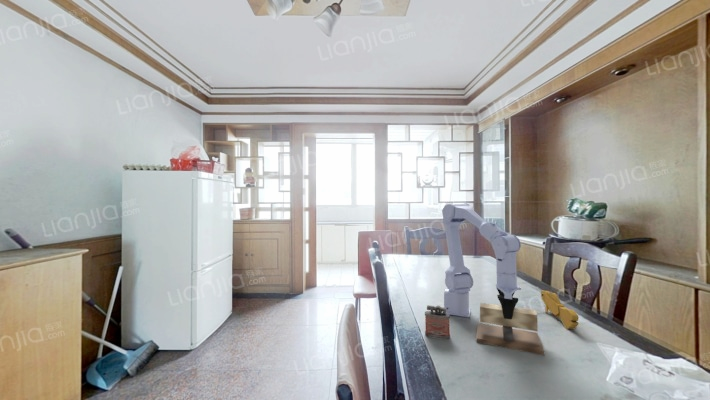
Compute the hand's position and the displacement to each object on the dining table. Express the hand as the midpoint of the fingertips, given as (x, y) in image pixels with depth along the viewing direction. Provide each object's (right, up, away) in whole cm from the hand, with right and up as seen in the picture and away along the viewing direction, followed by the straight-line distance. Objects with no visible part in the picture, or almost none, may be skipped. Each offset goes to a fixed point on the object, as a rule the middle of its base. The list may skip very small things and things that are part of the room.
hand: (507, 313), depth 89 cm
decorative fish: (+27, -8, +14) cm, 31 cm away
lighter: (-22, -9, +3) cm, 24 cm away
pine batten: (0, -3, 0) cm, 3 cm away
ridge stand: (0, -8, 0) cm, 8 cm away
